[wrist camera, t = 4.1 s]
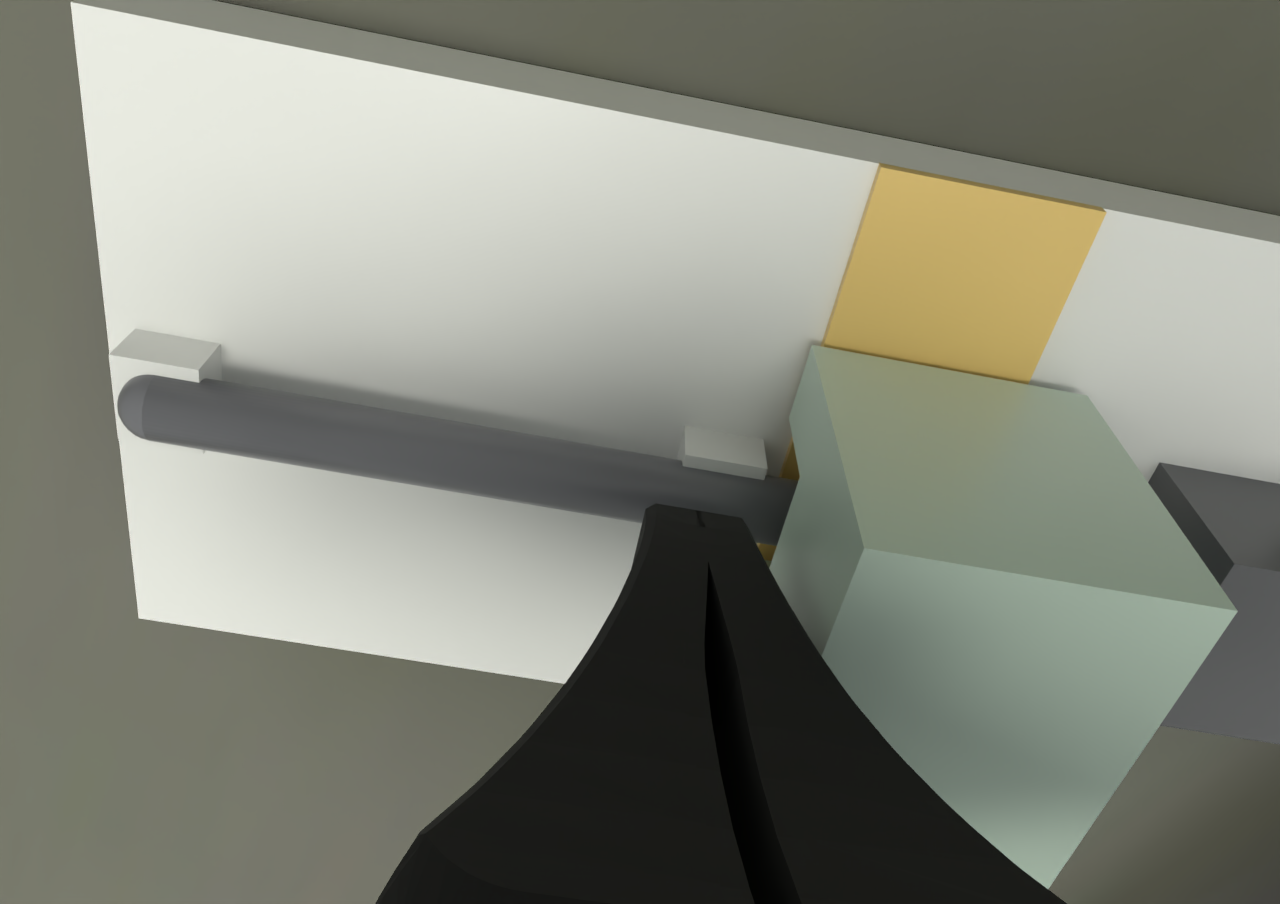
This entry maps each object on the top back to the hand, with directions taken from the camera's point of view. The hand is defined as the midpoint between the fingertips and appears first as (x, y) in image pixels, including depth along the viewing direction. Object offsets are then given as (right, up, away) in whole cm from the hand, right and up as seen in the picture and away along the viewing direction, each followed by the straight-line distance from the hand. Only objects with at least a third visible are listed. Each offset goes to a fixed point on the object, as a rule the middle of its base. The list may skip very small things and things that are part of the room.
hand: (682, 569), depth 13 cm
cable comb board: (+1, +2, +3) cm, 4 cm away
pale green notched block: (+3, +1, +2) cm, 4 cm away
